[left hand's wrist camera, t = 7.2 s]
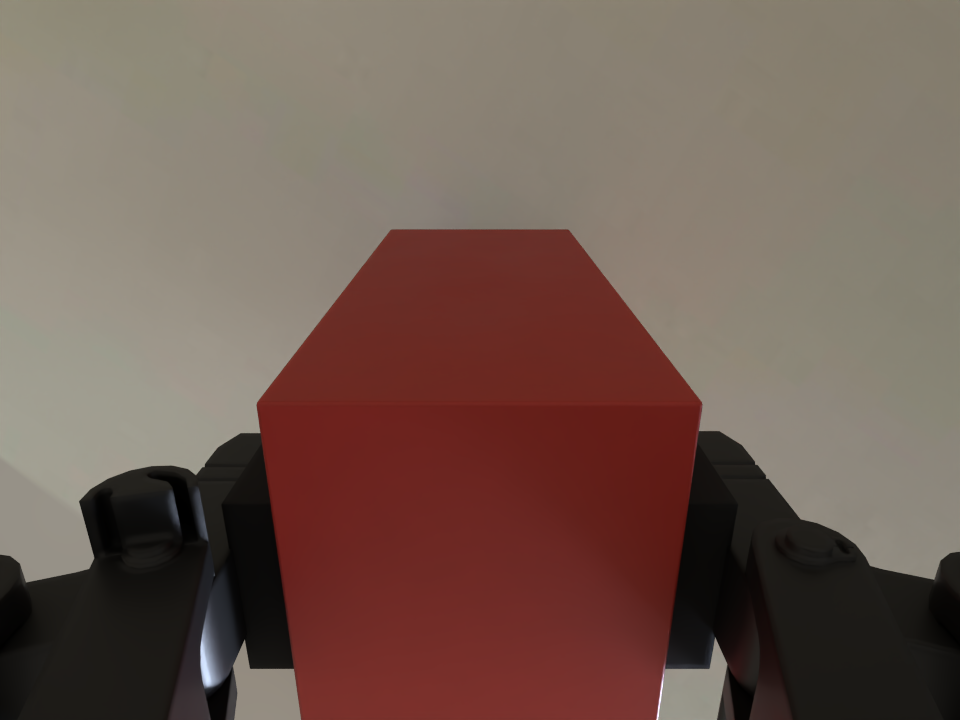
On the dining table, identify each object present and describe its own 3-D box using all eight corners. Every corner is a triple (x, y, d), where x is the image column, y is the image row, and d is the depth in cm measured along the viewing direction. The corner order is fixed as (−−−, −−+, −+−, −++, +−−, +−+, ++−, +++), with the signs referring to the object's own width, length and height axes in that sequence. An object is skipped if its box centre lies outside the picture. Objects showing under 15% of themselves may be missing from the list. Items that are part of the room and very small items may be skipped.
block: (559, 419, 19) (652, 772, 9) (399, 419, 19) (307, 772, 9) (569, 229, 17) (704, 402, 7) (390, 229, 17) (254, 403, 7)
